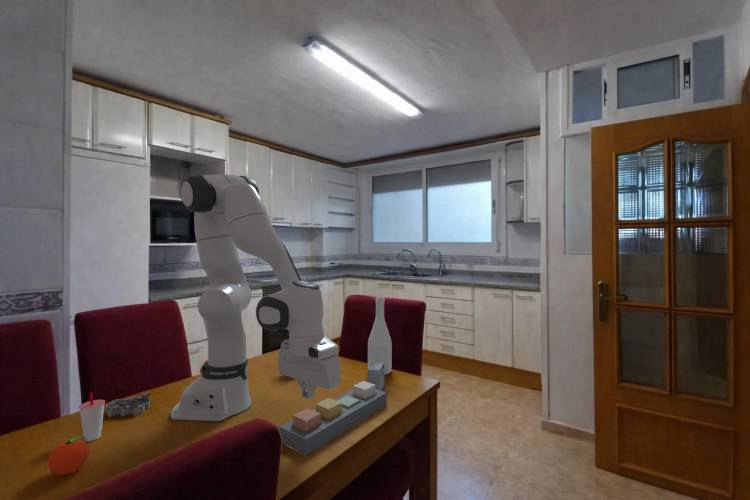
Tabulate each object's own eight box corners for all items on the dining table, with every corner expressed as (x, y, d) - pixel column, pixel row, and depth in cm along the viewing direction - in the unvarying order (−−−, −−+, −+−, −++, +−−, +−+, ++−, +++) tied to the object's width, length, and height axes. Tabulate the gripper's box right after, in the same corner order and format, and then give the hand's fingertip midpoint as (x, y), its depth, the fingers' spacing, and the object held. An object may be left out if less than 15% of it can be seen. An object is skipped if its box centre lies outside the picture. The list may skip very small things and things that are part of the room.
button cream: (365, 401, 107) (365, 389, 107) (353, 396, 110) (353, 385, 110) (375, 395, 111) (375, 384, 111) (363, 391, 114) (363, 380, 114)
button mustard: (328, 422, 94) (328, 409, 94) (315, 416, 97) (315, 404, 97) (341, 415, 98) (341, 402, 98) (328, 409, 101) (328, 397, 101)
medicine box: (380, 396, 119) (380, 370, 118) (367, 394, 119) (367, 369, 119) (384, 386, 126) (384, 362, 126) (372, 385, 127) (372, 361, 127)
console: (305, 456, 85) (305, 439, 84) (278, 441, 91) (278, 426, 90) (386, 405, 112) (386, 392, 112) (362, 396, 118) (362, 384, 118)
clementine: (74, 458, 83) (73, 428, 83) (101, 460, 82) (101, 430, 82) (38, 481, 75) (38, 448, 75) (68, 483, 74) (68, 450, 74)
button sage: (348, 418, 101) (348, 406, 101) (335, 413, 104) (335, 401, 104) (359, 411, 105) (359, 400, 105) (346, 407, 108) (346, 395, 108)
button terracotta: (306, 435, 88) (306, 421, 88) (292, 428, 91) (292, 415, 91) (320, 426, 92) (320, 413, 92) (307, 421, 95) (307, 408, 95)
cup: (75, 445, 88) (75, 398, 88) (83, 435, 93) (83, 390, 93) (101, 440, 91) (101, 394, 90) (108, 430, 96) (107, 386, 95)
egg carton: (153, 405, 111) (153, 392, 111) (140, 417, 104) (140, 403, 104) (117, 406, 110) (118, 393, 110) (101, 418, 103) (101, 404, 103)
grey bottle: (364, 369, 144) (364, 296, 144) (385, 366, 147) (386, 295, 147) (372, 377, 135) (373, 299, 135) (395, 374, 139) (395, 298, 138)
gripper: (271, 341, 95) (273, 392, 95) (325, 354, 82) (327, 412, 82) (290, 335, 100) (291, 384, 100) (344, 347, 87) (345, 402, 88)
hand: (308, 397), depth 91 cm, fingers closed
